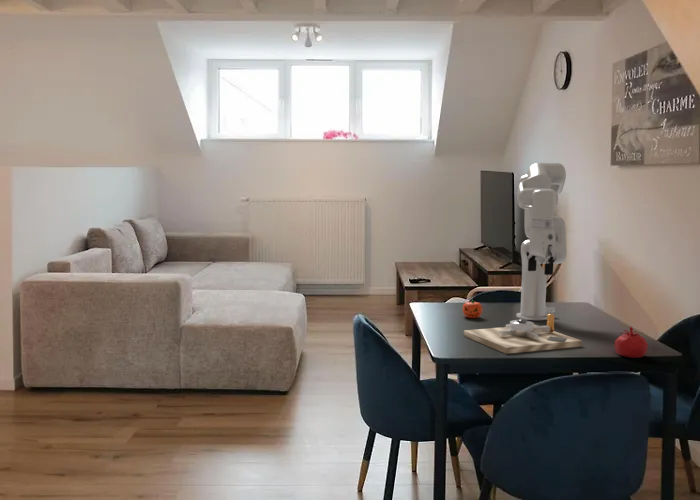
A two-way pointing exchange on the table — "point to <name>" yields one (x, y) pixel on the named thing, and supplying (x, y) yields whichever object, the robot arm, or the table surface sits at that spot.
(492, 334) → the wooden board
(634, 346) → the pomegranate
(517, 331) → the cylinder
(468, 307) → the pumpkin
